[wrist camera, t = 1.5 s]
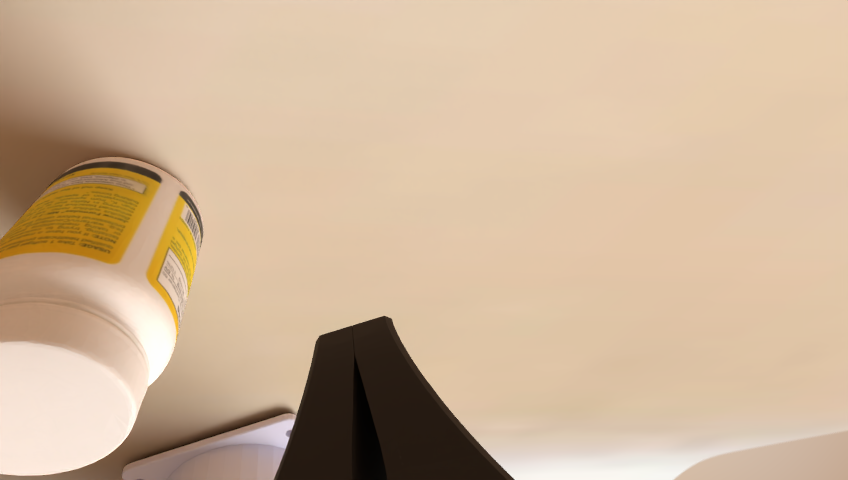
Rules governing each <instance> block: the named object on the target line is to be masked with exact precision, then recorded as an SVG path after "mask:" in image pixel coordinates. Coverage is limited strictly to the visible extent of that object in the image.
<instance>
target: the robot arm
mask: <svg viewBox="0 0 848 480" xmlns="http://www.w3.org/2000/svg"><path fill="white" fill-rule="evenodd" d="M122 478H123V480H514V479H513V478H512V477H511V476H510V475H509V474H508V473H507V472H506V471H505V470H504V469H503V468H502V467H501V466H500V465H499V464H498V463H497V462H496V461H495V460H494V459H493V458H492V457H491V456H490V455H489V454H488V452H487V451H486V450H485V449H484V448H483V447H482V446H481V445H480V444H479V443H478V442H477V441H476V440H475V439H474V437H473V436H472V435H471V434H470V433H469V432H468V431H467V430H466V428H465V427H464V426H463V425H462V424H461V423H460V422H459V420H458V419H457V418H456V417H455V416H454V415H453V413H452V412H451V411H450V410H449V409H448V407H447V406H446V405H445V404H444V402H443V401H442V400H441V399H440V397H439V396H438V395H437V393H436V392H435V391H434V389H433V388H432V387H431V386H430V384H429V383H428V382H427V380H426V379H425V378H424V376H423V375H422V373H421V372H420V371H419V369H418V368H417V366H416V365H415V363H414V362H413V360H412V359H411V357H410V355H409V354H408V352H407V351H406V349H405V347H404V345H403V344H402V342H401V340H400V338H399V336H398V334H397V332H396V330H395V327H394V325H393V322H392V319H391V318H388V317H386V316H382V317H379V318H376V319H372V320H369V321H366V322H363V323H359V324H356V325H353V327H352V326H350V327H346V328H343V329H340V330H337V331H333V332H330V333H327V334H324V335H320V336H319V338H318V339H317V341H316V344H315V349H314V354H313V358H312V363H311V367H310V371H309V375H308V379H307V382H306V386H305V390H304V393H303V397H302V400H301V403H300V407H299V410H298V413H297V416H296V415H294V414H291V413H287V414H283V415H279V416H276V417H273V418H270V419H267V420H264V421H261V422H257V423H254V424H251V425H248V426H245V427H242V428H239V429H236V430H232V431H229V432H226V433H223V434H220V435H217V436H214V437H210V438H207V439H204V440H201V441H198V442H195V443H192V444H188V445H185V446H182V447H179V448H176V449H173V450H170V451H167V452H163V453H160V454H157V455H154V456H151V457H148V458H145V459H141V460H138V461H135V462H132V463H130V464H127V465H126V466H125V467H124V469H123V473H122Z"/></svg>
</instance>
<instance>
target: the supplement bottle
mask: <svg viewBox="0 0 848 480" xmlns="http://www.w3.org/2000/svg"><path fill="white" fill-rule="evenodd" d="M202 238H203V219H202V214H201V211H200V208H199V206H198V204H197V202H196V200H195V199H194V197H193V196H192V194H191V193H190V192H189V190H188V189H187V188H186V187H185V186H184V185H183V184H182V183H181V182H179V181H178V180H177V179H176V178H174V177H173V176H171V175H170V174H168V173H167V172H165V171H163V170H161V169H159V168H157V167H155V166H153V165H150V164H148V163H145V162H142V161H139V160H135V159H130V158H123V157H104V158H96V159H92V160H88V161H85V162H82V163H79V164H77V165H75V166H73V167H71V168H69V169H68V170H67V171H65V172H64V173H62V174H61V175H60V176H59V177H58V178H57V179H56V180H55V181H53V182H52V183H51V184H50V185H49V186H48V188H47V189H46V190H45V191H44V192H43V194H42V195H41V196H40V197H39V198H38V199H37V200H36V201H35V202H34V203H33V205H32V206H31V207H30V208H29V209H28V210H27V211H26V212H25V213H24V214H23V216H22V217H21V218H20V219H19V220H18V221H17V222H16V223H15V224H14V225H13V227H12V228H11V229H10V230H9V231H8V232H7V233H6V234H5V235H4V236H3V238H2V239H1V240H0V474H7V475H18V476H32V475H48V474H56V473H61V472H66V471H71V470H75V469H78V468H81V467H84V466H87V465H89V464H92V463H94V462H96V461H98V460H100V459H102V458H104V457H105V456H107V455H109V454H110V453H111V452H112V451H114V450H115V449H116V448H117V447H118V446H119V445H121V443H122V442H123V441H124V440H125V439H126V437H127V436H128V435H129V433H130V431H131V429H132V427H133V425H134V423H135V421H136V418H137V415H138V412H139V409H140V406H141V403H142V400H143V398H144V396H145V394H146V391H147V387H148V386H149V385H151V384H152V383H153V382H154V381H155V380H156V379H157V378H158V377H159V375H160V374H161V373H162V372H163V370H164V369H165V367H166V366H167V364H168V362H169V360H170V358H171V355H172V353H173V350H174V348H175V344H176V340H177V337H178V332H179V328H180V324H181V321H182V317H183V313H184V309H185V305H186V302H187V298H188V294H189V290H190V286H191V282H192V278H193V275H194V271H195V267H196V264H197V259H198V255H199V250H200V247H201V243H202Z"/></svg>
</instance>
